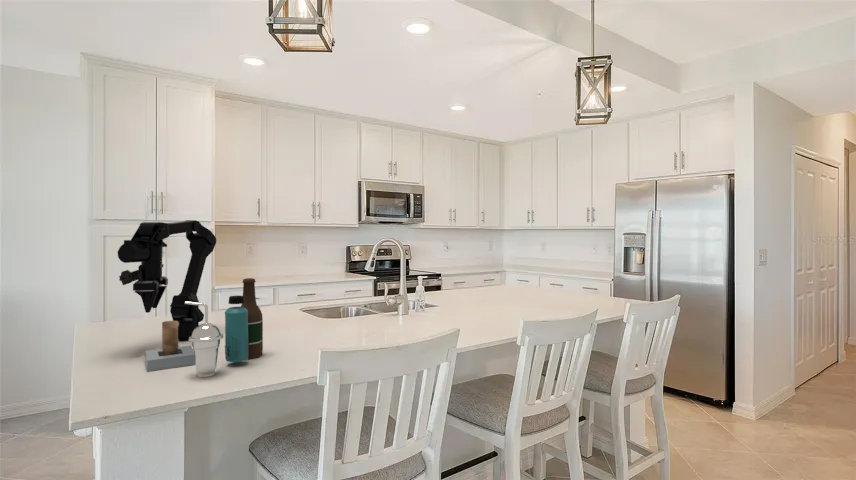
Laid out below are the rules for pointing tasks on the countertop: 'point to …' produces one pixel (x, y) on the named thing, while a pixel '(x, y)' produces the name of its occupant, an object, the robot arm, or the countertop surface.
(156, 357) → the socket
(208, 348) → the cup with straw
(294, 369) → the countertop surface
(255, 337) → the beer bottle
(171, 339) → the peg
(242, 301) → the beverage bottle
